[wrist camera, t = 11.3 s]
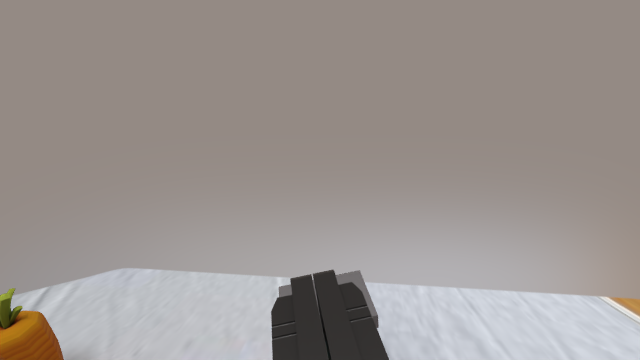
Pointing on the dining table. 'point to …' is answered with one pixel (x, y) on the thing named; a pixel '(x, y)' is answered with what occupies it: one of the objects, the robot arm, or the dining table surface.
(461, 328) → the dining table surface
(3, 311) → the carrot
